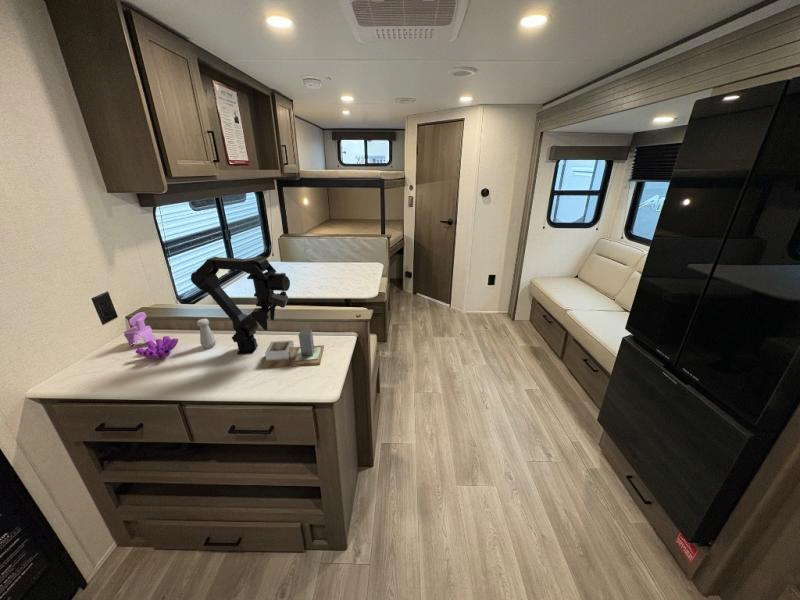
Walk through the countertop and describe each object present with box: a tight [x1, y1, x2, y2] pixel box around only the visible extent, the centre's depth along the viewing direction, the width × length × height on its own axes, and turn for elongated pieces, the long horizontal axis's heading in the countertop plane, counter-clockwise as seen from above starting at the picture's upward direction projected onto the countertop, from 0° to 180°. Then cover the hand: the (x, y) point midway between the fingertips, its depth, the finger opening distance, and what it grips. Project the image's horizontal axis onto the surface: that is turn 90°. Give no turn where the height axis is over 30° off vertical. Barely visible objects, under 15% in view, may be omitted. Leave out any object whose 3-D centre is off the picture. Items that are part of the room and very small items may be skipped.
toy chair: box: [123, 311, 158, 347], centre depth 135 cm, size 8×9×15 cm
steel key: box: [298, 329, 315, 357], centre depth 125 cm, size 4×4×10 cm
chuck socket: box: [264, 340, 295, 363], centre depth 125 cm, size 9×9×4 cm
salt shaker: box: [196, 318, 217, 350], centre depth 132 cm, size 6×6×13 cm
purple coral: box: [134, 335, 179, 359], centre depth 127 cm, size 11×15×10 cm
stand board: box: [262, 345, 325, 369], centre depth 127 cm, size 22×13×1 cm, turn 96°
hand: (269, 324), depth 125 cm, fingers open, 9 cm apart
